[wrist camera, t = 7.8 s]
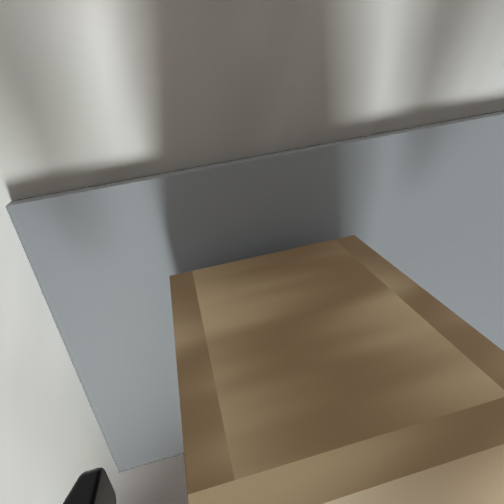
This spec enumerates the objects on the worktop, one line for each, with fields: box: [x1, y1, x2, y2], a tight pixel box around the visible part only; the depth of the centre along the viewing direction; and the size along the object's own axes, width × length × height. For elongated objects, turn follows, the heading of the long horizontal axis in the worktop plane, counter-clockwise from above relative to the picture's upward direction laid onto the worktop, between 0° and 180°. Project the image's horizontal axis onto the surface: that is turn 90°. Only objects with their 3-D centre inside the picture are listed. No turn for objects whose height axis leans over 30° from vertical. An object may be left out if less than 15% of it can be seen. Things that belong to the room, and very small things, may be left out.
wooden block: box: [169, 235, 504, 504], centre depth 9 cm, size 5×5×7 cm
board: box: [6, 111, 504, 472], centre depth 14 cm, size 24×10×1 cm, turn 98°
